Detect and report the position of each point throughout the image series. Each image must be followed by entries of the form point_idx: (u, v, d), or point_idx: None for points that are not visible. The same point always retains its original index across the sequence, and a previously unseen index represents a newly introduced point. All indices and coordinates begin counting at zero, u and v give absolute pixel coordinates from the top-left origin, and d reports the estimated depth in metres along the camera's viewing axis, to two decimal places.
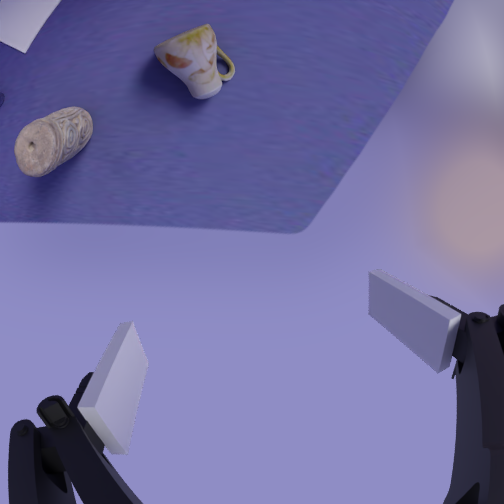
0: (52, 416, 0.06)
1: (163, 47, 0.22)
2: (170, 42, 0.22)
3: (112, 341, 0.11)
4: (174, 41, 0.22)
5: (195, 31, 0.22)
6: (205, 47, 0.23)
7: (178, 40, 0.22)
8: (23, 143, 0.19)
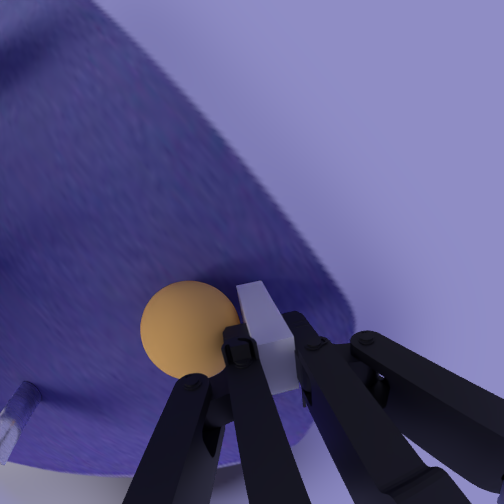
0: (236, 355, 0.09)
1: None
2: None
3: (242, 297, 0.14)
4: None
5: None
6: None
7: None
8: None
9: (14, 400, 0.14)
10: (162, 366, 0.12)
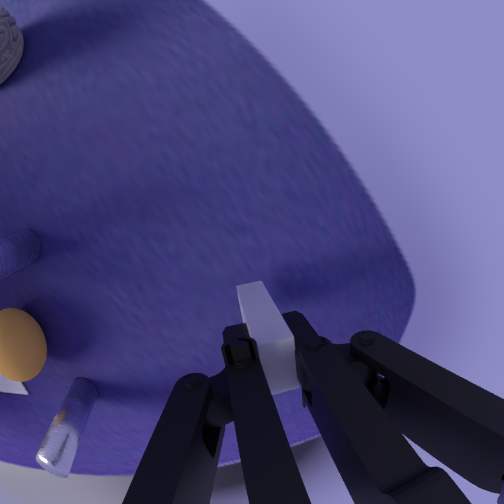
0: (235, 355, 0.09)
1: None
2: None
3: (242, 297, 0.14)
4: None
5: None
6: None
7: None
8: None
9: (71, 400, 0.15)
10: None
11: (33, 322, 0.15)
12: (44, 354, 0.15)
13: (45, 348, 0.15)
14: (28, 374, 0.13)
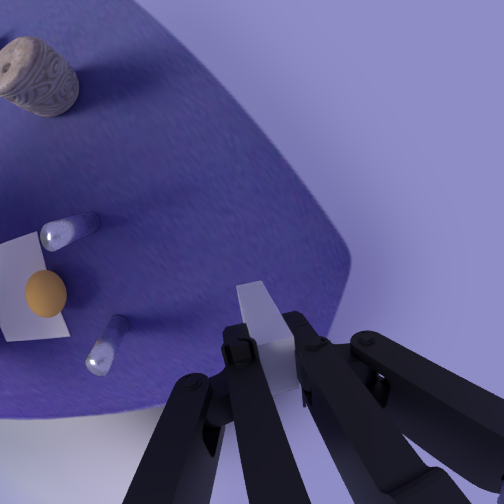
0: (236, 355, 0.09)
1: None
2: None
3: (242, 297, 0.14)
4: None
5: None
6: None
7: None
8: (5, 76, 0.12)
9: (112, 326, 0.27)
10: None
11: (36, 290, 0.23)
12: (39, 311, 0.23)
13: (41, 308, 0.23)
14: (35, 313, 0.24)
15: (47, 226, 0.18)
